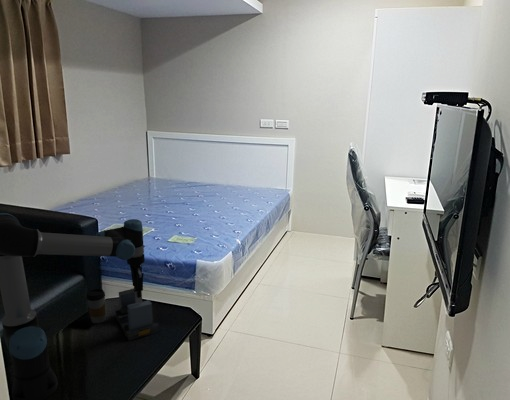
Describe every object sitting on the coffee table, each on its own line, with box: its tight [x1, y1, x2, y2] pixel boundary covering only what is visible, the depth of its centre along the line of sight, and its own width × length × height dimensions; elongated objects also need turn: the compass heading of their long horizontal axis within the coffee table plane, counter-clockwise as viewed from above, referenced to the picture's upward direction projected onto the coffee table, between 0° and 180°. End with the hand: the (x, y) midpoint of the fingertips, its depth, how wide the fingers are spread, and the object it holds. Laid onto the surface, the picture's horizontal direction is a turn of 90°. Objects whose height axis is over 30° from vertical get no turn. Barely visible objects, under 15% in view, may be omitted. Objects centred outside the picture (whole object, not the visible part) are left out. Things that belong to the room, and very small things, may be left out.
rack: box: [114, 288, 160, 342], centre depth 197 cm, size 14×25×14 cm, turn 31°
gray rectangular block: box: [127, 299, 153, 331], centre depth 191 cm, size 10×4×12 cm, turn 121°
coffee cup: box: [86, 288, 106, 324], centre depth 199 cm, size 8×8×15 cm
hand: (138, 302), depth 189 cm, fingers closed
